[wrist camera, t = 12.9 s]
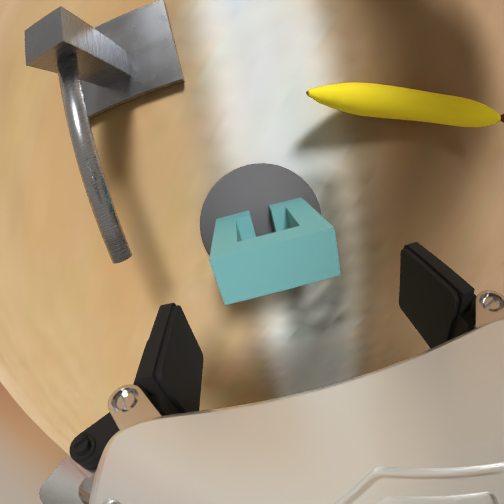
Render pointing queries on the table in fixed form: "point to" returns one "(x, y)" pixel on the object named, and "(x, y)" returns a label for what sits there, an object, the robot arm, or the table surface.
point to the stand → (103, 85)
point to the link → (273, 252)
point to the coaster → (252, 197)
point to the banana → (404, 104)
